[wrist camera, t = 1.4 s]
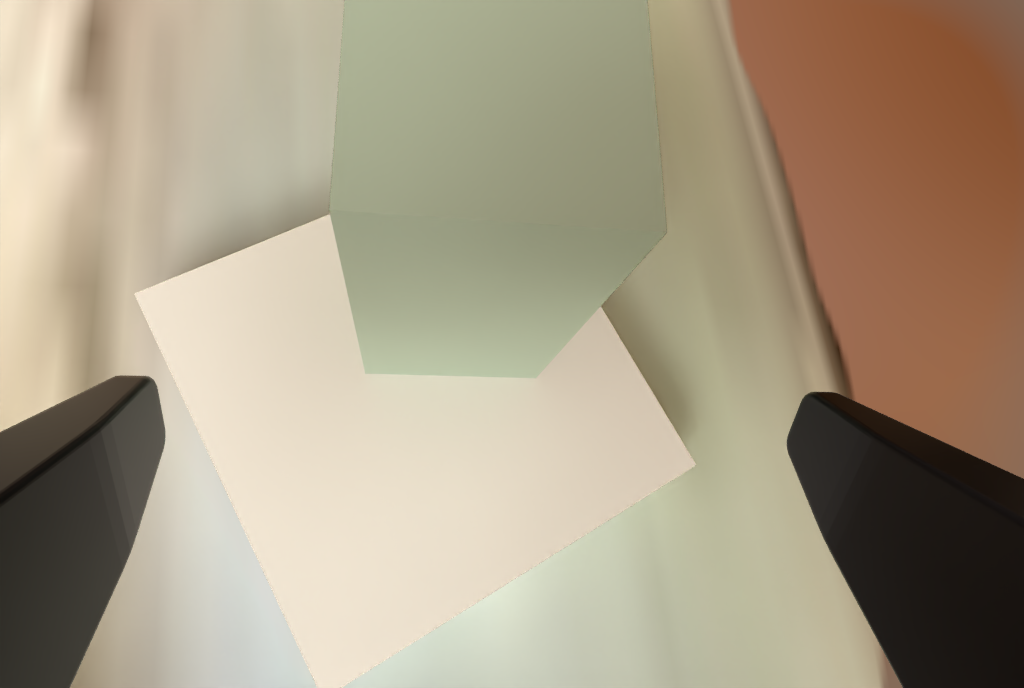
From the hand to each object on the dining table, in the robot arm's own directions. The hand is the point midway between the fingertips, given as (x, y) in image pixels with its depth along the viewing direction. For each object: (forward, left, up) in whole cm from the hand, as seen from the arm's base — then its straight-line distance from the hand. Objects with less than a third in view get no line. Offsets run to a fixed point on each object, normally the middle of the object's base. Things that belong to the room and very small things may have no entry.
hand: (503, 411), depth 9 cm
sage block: (+5, -3, -10) cm, 11 cm away
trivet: (+3, -1, -12) cm, 12 cm away
